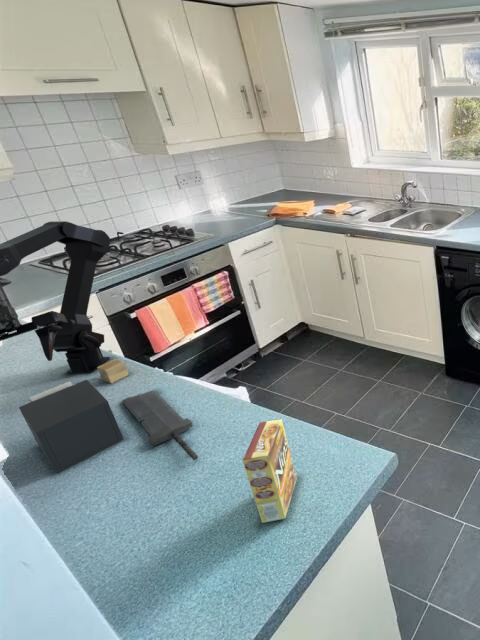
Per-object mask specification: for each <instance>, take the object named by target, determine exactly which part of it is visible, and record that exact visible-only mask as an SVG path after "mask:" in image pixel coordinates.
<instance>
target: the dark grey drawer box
mask: <svg viewBox="0 0 480 640" xmlns="http://www.w3.org/2000/svg"><path fill="white" fill-rule="evenodd" d="M18 409H19V411H20V413H21V415H22V417H23V419H24V420H25V423H26V424H27V426H28V428H29V430H30V432H31V434H32V436H33V438H34V440H35V441H36V444H37V445H38V447H39V448H40V450H41V452H42V454H43V455H44V456H45V458H46V459H47V461H48V463H49V464H50V466H51V467H52V468H53V471H55V473H56V474H59V473H61V472H63V471H65V470H67V469H69V468H71V467H73V466H75V465H76V464H78V463H80V462H82V461H84V460H87V459H88V458H90V457H92V456H94V455H96V454H98V453H100V452H102V451H104V450H106V449H108V448H110V447H112V446H114V445H116V444H117V443H120V442H121V441H124V440H125V438H124V436H123V434H122V431H121V429H120V427H119V425H118V421H117V420H116V417H115V415H114V412H113V410H112V408H111V406H110V402H109V401H108V400H107V399H106V398H105V397H104V395H102V393H101V392H100V391H99V390H98V389H97V388H96V387H95V386H94V385H93V384H92V383H91V382H90V381H89V380H88V379H85V380H83V381H80V382H77V383H75V384H72V386H70V387H67V388H65V389H62V390H60V391H57V392H55V393H52V394H50V395H47V396H45V397H42V398H40V399H37V400H35V401H33V402H31V401H30V402H28V403H25V404H23V405H20V406H18Z"/></svg>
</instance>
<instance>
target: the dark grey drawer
mask: <svg viewBox="0 0 480 640" xmlns="http://www.w3.org/2000/svg"><path fill="white" fill-rule="evenodd" d="M72 385H73V384H72V382H71V381H67V382H64V383H61V384H59V385H57V386H54V387H51V388H48V389H46V390H43V391H41V392H39V393H36V394H34V395H32V396H28V399H29V401H30V402H33V401H35V400H37V399H40V398H42V397H45V396H47V395H50V394H52V393H55V392H57V391H60V390H62V389H65V388H67V387H70V386H72Z"/></svg>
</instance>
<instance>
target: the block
mask: <svg viewBox="0 0 480 640" xmlns="http://www.w3.org/2000/svg"><path fill="white" fill-rule="evenodd" d="M96 370H97V371H98V374H99V376H100V378H101V380H102V381H104V382H107V383H109V384H114V383H116V382H117V381H120V380H121V379H123V378H125V377H127V376H130V374H129V372H128V369H127V367H126V364H125V362H124V361H122V360H119V359H116V358H114V359H112V360H110V361H109V360H108V361H107V362H105V363H104V364H103V365H101V366H99V367H97V369H96Z"/></svg>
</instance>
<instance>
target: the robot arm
mask: <svg viewBox="0 0 480 640" xmlns="http://www.w3.org/2000/svg"><path fill="white" fill-rule="evenodd" d="M55 243H59V244H62V245H65V246H64V248H65V249H64V250H65V252H66V254H67V256H68V257H69V259H70V264H69V269H68V273H67V278H66V283H65V287H64V292H63V296H62V301H61V306H60V310H59V312H57V311H54V310H50V311H47V312H44V313H39V314H38V315H34V316H31V321H30V322H27V323H24V324H22V323H21V322H20V320H19V315H18V313H17V312H16V310H15V307H13V306H12V304H11V302H10V300H9V297H8V296H7V293H6V291H5V290H4V287H6V286H8V285H10V284H12V280H9V279H7V278H3V276H6V275H8V274H9V273H10V272H12V271H13V270H15V269H16V268H18V267H19V266H20V264H21V262H22V260H23V259H25V258H26V257H28V256H30V255H32V254H34V253H36V252H38V251H41V250H43V249H44V248H46V247H49V246H51V245H53V244H55ZM110 244H111V237H110V236H109V235H108V233H106V231H104V230H102V229H94V228H91V227H86V226H82V225H78V224H76V223H72V222H69V221H66V220H64V221H63V220H61V221H60V220H58V221H54V220H53V221H52V220H51V221H47V222H44V223H43V224H42V225H40V226H39V227H36V228H34V229H32V230H29V231H27V232H25V233H23V234H20V235H18V236H15V237H13V238H11V239H9V240H6V241H4V242H1V243H0V342H2V341H5V340H8V339H11V338H15V337H18V336H20V335H23V334H26V333H29V332H32V331H34V333H35V334H36V336H37V337H38V339H39V343H40V345H41V348H42V351H43V354H44V356H45V358H46V360H47V361H48V362H51V361H53V355H54V351H55V352H56V353H64V355H65V357H66V362H67V365H68V367H69V369H68V370H67V371H66V374H68V375H71V374H84V373H85V374H86V373H94V372H95V371H97V370H98V369H97V367H99V366H101V365H103V364H105V363H107V362H109V360H111V357H110V356H103V353H102V350H101V348H100V347H102V344H104V343H105V334H103V333H99V332H95V331H93V323H92V322H91V320H90V318H89V316H88V315H87V314H88V308H89V304H90V298H91V295H92V288H93V285H94V280H95V279H94V278H95V274H96V269H97V264H98V262H99V261H100V260H102V258H104V257H105V255H107V252H108V249H109V247H110Z"/></svg>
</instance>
